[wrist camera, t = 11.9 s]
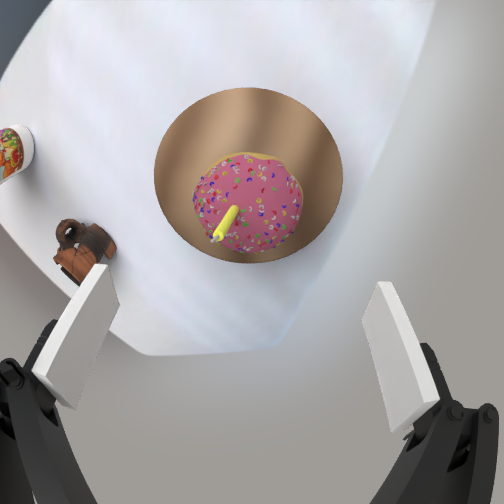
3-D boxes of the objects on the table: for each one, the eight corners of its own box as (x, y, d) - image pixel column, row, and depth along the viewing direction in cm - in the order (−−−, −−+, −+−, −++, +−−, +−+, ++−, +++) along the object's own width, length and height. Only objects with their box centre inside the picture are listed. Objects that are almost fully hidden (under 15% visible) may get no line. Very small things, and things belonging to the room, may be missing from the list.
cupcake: (189, 197, 27) (149, 274, 17) (235, 122, 23) (214, 156, 13) (263, 239, 29) (265, 329, 19) (314, 173, 25) (350, 242, 15)
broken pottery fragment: (129, 261, 43) (99, 301, 38) (98, 248, 47) (70, 282, 42) (92, 204, 34) (52, 248, 29) (64, 198, 38) (30, 234, 33)
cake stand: (332, 95, 28) (355, 100, 21) (312, 229, 38) (324, 267, 31) (175, 87, 28) (150, 90, 21) (180, 222, 38) (162, 258, 31)
